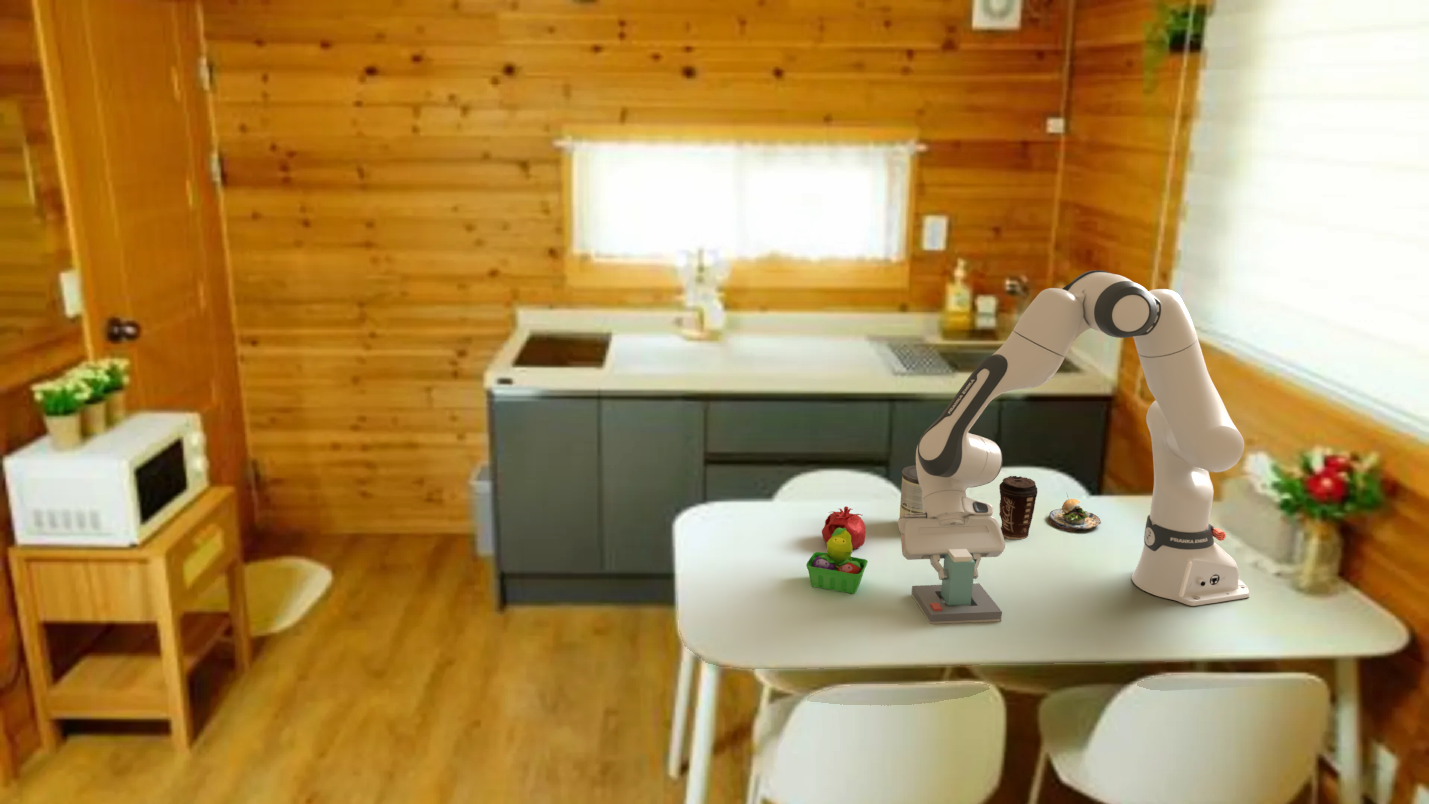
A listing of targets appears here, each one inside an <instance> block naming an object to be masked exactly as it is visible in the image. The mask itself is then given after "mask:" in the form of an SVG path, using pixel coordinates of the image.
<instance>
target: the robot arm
mask: <svg viewBox="0 0 1429 804" xmlns="http://www.w3.org/2000/svg"><path fill="white" fill-rule="evenodd" d="M1193 322H1194V321H1193V320H1192V318H1191V315H1190V313H1189V311H1188V308H1187V307H1186V304H1185V303H1184V301H1183V299H1182V298H1181V296H1180V295H1179V294H1178V293H1177V292H1175V291H1174V290H1171V289H1167V288H1156V289H1151V290H1149V291H1148V289H1146V288H1145V287H1144V286H1142V285H1141V284H1139V283H1137V282H1134V281H1132V280H1131V279H1130V278H1127V277H1126V276H1123V275H1120V274H1115V273H1111V272H1109V271H1106V270H1098V269H1097V270H1096V269H1095V270H1088V271H1086V272H1083V273H1081V274H1080V275H1078V276H1076V277H1075V278H1074V279H1073V280H1071V282H1070V283H1069V284H1066V285H1065V286H1064V287H1062V288H1059V287H1049V288H1046V289H1043V290H1041V291H1040V292H1039V293H1038V294H1037V295H1036V297H1035V298H1034V299H1033V300H1032V301H1031V302H1030V304H1029V305H1028V306H1027V307H1026V309H1025V310H1024V312H1023V313H1022V315H1020V318H1019V319H1018V320H1017V322H1016V324H1015V326H1014V328H1013V330H1012V331H1011V333H1010V335H1009V336H1008V337H1007V339H1006V340H1005V341H1004V343H1002V345H1001V346H1000V347H999V348H998V349H997V350H996V351H995V352H994V353H993V354H992V355H990V356H987V357H985V358H984V359H983V360H982V361H981V362H980V363H979V364H978V366H977V367H975V369H974V370H973V371H972V373H971V374H969V375H970V376H969V377H968V378H967V379H966V380H965V382H964V383H963V385H962V386H961V388H960V389H959V390H958V392H956V394H955V395H954V397H953V398H952V400H951V401H950V403H949V404H948V405H947V407H946V408H945V410H943V412H942V414H940V416H939V417H938V418H937V419H936V420H935V421H934V422H932V424H931V425H930V426H929V427H928V428H927V429H926V430H924V432H923V434H922V435H921V436H920V438H919V441H918V444H917V446H916V451H915V465H916V469H917V475H918V481H919V485H920V486H921V488H922V503H923V509H924V513H915V514H911V513H906V514H904V515H903V516H901V517H900V516H899V518H898V520H897V526H898V527H897V528H898V531H899V532H900V534H901V538H900V539H901V540H900V541H901V542H900V543H901V554H902V557H904V558H905V559H906V560H907V561H910V560H912V561H913V560H915V561H916V560H929V561H930V562H929V563H930V565H931V566H932V567H933V568H934V570H935V571H936V572H937V574H938V579H939V581H942V580H947V579H948V578H949V574H948V569H944V568H943V565H942V564H941V563H940V561H941V559H942V560H944V555H945V554H948V549H967V551H968V552H969V553H970V554H971V555H972V559H973V560H974V562H975V568H974V578H973V580H976V579H978V578H979V571H978V570H979V569H978V567H979V565H980V564H981V563H980V562H981V559H982V558H997V557H999V556H1000V555H1002V553H1003V552H1004V551H1005V549H1006V541H1005V539H1004V538H1005V537H1004V536H1003V534H1002V531H1001V525H1000V522H999V521H998V520H997V518H995V517H994V516H992V515H993V514H994V507H993V505H992V504H991V503H988V502H984V501H980V500H977V499H973V498H970V497H968V496H967V494H966V493H967V491H966V490H967V489H969V488H971V489H972V488H977V487H982V486H984V485H987V484H990V483H992V482H993V481H995V479H996V478H997V477H998V476H999V474H1000V472H1001V470H1002V467H1003V453H1002V451H1001V448H1000V446H999V445H998V444H997V442H995V441H993V440H991V439H989V438H986V437H983V436H981V435H977V434H974V433H973V434H972V433H970V432H969V431H970V430H971V428H972V427H973V426H974V424H975V423H976V422H977V420H978V419H979V417H980V416H981V415H982V414H983V412H984V411H985V409H986V408H987V406H988V405H989V404H990V403H991V401H992V400H994V399H995V398H996V397H998V396H1000V395H1002V394H1004V393H1008V392H1011V391H1016V390H1027V389H1030V390H1031V389H1033V388H1038V387H1041V386H1042V385H1044V384H1046V383H1048V382H1049V381H1050V380H1051V379H1052V378H1053V377H1054V376H1055V374H1056V373H1057V372H1058V370H1059V369H1060V367H1061V365H1062V364H1063V362H1064V360H1065V358H1066V357H1067V355H1068V353H1069V351H1070V350H1071V347H1072V345H1073V343H1074V342H1075V341H1076V340H1077V338H1078V337H1079V336H1080V335H1082V334H1083V333H1084V332H1086V331H1088V330H1089V329H1093V330H1095V331H1099V332H1100V333H1104V334H1105V335H1107V336H1109V337H1111V338H1116V339H1118V338H1120V339H1126V338H1132V339H1133V340H1134V345H1135V348H1136V352H1137V356H1138V359H1139V361H1140V365H1141V369H1142V371H1143V372H1142V373H1143V374H1144V375H1143V376H1144V379H1145V381H1146V385H1147V387H1148V390H1149V392H1150V394H1151V395H1152V396H1153V397H1154V401H1153V402H1152V403H1151V404H1150V406H1149V407H1148V409H1147V413H1146V415H1145V416H1146V417H1145V421H1146V425H1147V428H1148V430H1149V434H1150V439H1151V440H1150V441H1151V450H1152V461H1153V490H1152V497H1151V504H1150V505H1151V506H1150V511H1149V514H1148V515H1147V517H1146V522H1145V528H1144V536H1143V548H1142V551H1141V554H1140V558H1139V560H1138V563H1137V566H1136V567H1135V570H1134V571H1133V573H1132V575H1131V581H1132V583H1134V585H1135V586H1136V587H1138V588H1139V589H1140V590H1142V591H1145V592H1147V593H1148V594H1151V595H1154V596H1156V597H1160V598H1163V599H1168V600H1173V601H1177V602H1179V603H1181V604H1184V605H1187V606H1192V607H1195V606H1203V605H1208V604H1209V605H1210V604H1215V603H1221V602H1222V603H1223V602H1228V601H1229V602H1230V601H1234V600H1241V599H1247V598H1249V597H1250V590H1249V589H1250V588H1249V587H1248V586H1247V585H1246V584H1245V582H1244V581H1242V580H1241V579H1240V577H1239V576H1240V574H1239V573H1240V572H1239V567H1238V564H1237V562H1236V560H1235V559H1234V558H1233V557H1232V556H1231V555H1230V554H1229V553H1227V552H1226V551H1225V550H1224V549H1223V548H1222V547H1221V546H1220V545H1218V544H1217V543H1216V542H1215V541H1214V538H1215V539H1216V540H1218V541H1219V542H1220V541H1221V542H1222V541H1224V540H1225V539H1226V538H1227V533H1226V532H1225V531H1223V530H1222V529H1220V528H1215V526H1213V525H1212V524H1211V523H1210V518H1211V512H1212V505H1213V500H1214V493H1215V492H1214V486H1213V482H1212V480H1211V477H1210V472H1211V473H1222V472H1226V471H1228V470H1230V469H1231V468H1233V467H1235V465H1237V464H1238V463H1239V461H1240V459H1242V457H1243V454H1244V451H1245V440H1244V437H1243V436H1242V434H1241V432H1240V431H1239V430H1238V428H1237V427H1236V425H1235V424H1234V422H1233V420H1232V418H1231V417H1230V414H1229V412H1228V410H1227V407H1226V406H1225V404H1224V401H1223V399H1222V398H1221V396H1220V394H1219V392H1218V390H1217V388H1216V386H1215V384H1214V382H1213V381H1212V378H1211V376H1210V374H1209V371H1208V370H1209V369H1207V365H1206V361H1205V358H1204V355H1203V352H1202V351H1203V350H1202V348H1201V345H1200V342H1199V337H1198V334H1197V331H1196V328H1195V326H1194V323H1193Z"/></svg>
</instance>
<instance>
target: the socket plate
mask: <svg viewBox="0 0 1429 804" xmlns="http://www.w3.org/2000/svg"><path fill="white" fill-rule="evenodd" d="M941 587H942V584H930V585H929V584H928V585H927V584H925V585H912V586H911V596H912V598H913V599H914V601H915V603H916V604H917V606H918V607H919V609H920V610H921V612H922V614H923V615H924V617H925V618H926V619H927V622H928V623H929V624H930V625H935V624H936V625H937V624H957V623H958V624H959V623H961V624H962V623H964V624H965V623H982V622H983V623H986V622H987V623H988V622H1002V614H1003V611H1002V610H1001V608H1000V607H999V606H998V605H997V604H996V602H995V601H994V600H993V599H992V597H991V596H990V595H989V594H988V592H987V591H986V589H984V587H983V586H982V585H981V583H979V582H978V583H973V588H972V597H971V605H949V606H948V604H947V603H946V601H945V600H944V599H943V597H942V596H941Z"/></svg>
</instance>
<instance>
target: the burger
mask: <svg viewBox="0 0 1429 804" xmlns="http://www.w3.org/2000/svg"><path fill="white" fill-rule="evenodd" d="M1066 495H1067V498H1068V499H1065V501H1063V503H1062V506H1061V508H1058V509H1054V510H1051V511H1050V512H1049V517H1048V523H1049V524H1050V525H1051V526H1052V527H1054V528H1055V529H1058V530H1062V531H1066V532H1069V533H1072V534H1073V533H1075V531H1077V530H1090V529H1093V528H1095V527H1098V526H1099V525H1101V524H1102V521H1101V519H1100V518H1099V516H1097V515H1096V514H1094V513H1092V512H1088V511H1086V510H1083V507H1080V505H1079V503H1080V500H1079V499H1075V498H1069V496H1068V492H1066Z"/></svg>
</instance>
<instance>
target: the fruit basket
mask: <svg viewBox="0 0 1429 804" xmlns="http://www.w3.org/2000/svg"><path fill="white" fill-rule="evenodd" d="M826 549H827V552H822V551H816V552H815V551H814V552H813V554H812V555H811V557H810V558H809V559H808V560H807V562H806V564H805V566H806V569H807V571H808V575H809V579H810V583H811V587H812V588H813V587H814V588H818V589H824V590H831V591H835V592H839V593H840V592H841V593H848V594H853V595H854V594H856V592H857V590H858V588H859V586H860V584H861V581H862V578H863V577H864V572H865V569H866V567H867V566H868V560H867V559H866V558H860V557H855V556H852V554H853V550H854V549H853V548H852V543H851V535H850V534H849V533H848V532H847V531H846V528H837V529H836V530H835V531H834V533H833V534H832V537H831V538H830V539H829V540H828V542H827V543H826ZM852 549H853V550H852Z"/></svg>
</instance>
